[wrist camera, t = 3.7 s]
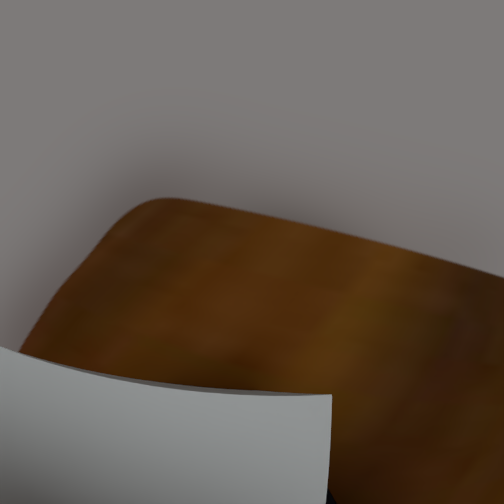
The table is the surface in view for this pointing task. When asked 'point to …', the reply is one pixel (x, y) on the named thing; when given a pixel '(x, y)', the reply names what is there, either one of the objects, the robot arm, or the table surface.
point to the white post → (154, 440)
